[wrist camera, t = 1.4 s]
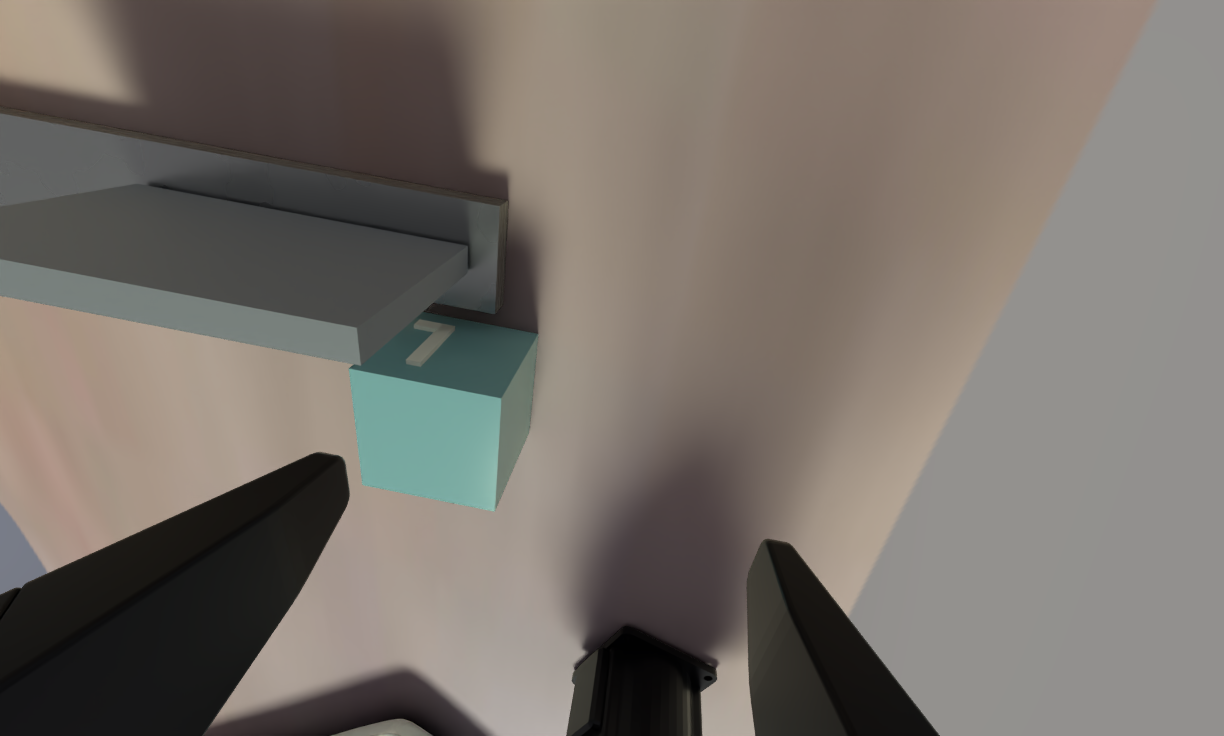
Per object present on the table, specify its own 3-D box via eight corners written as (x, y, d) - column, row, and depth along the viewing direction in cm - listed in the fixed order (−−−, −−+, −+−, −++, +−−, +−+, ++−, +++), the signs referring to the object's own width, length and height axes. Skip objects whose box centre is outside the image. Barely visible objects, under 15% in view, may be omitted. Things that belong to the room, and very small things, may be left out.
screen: (467, 246, 18) (356, 327, 11) (467, 273, 18) (360, 365, 12) (136, 183, 18) (-146, 231, 12) (145, 211, 18) (-122, 272, 12)
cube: (539, 329, 20) (501, 393, 16) (529, 431, 23) (494, 511, 18) (418, 306, 20) (348, 363, 16) (422, 410, 23) (362, 484, 19)
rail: (508, 200, 18) (499, 206, 17) (502, 304, 20) (495, 314, 19) (-57, 95, 18) (-94, 96, 17) (-8, 207, 20) (-38, 212, 19)
